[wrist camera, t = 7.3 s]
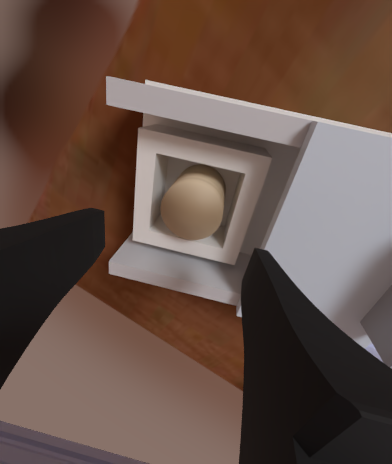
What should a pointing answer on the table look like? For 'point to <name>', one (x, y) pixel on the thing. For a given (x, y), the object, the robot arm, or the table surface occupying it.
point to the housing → (221, 159)
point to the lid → (340, 231)
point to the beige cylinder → (194, 203)
